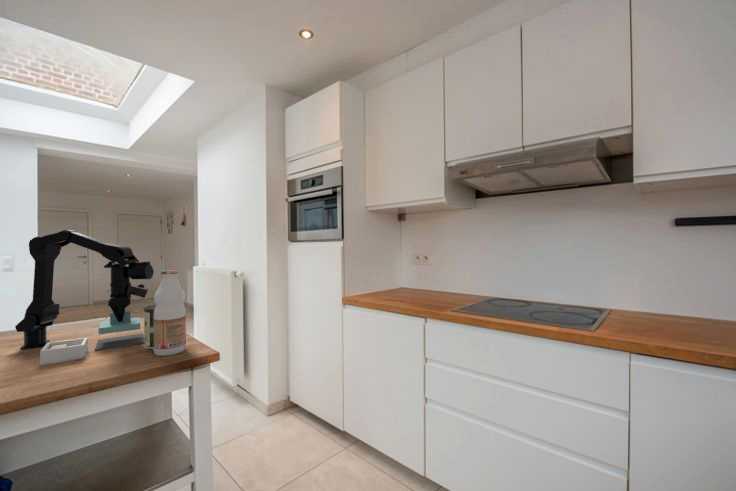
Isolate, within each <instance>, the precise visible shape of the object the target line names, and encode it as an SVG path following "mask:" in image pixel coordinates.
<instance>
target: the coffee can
mask: <svg viewBox="0 0 736 491" xmlns="http://www.w3.org/2000/svg"><path fill="white" fill-rule="evenodd" d="M155 307H156V304H154V305H148V306H146V307H143V311H144V313H143V316H144V318H143V320H144V324H143V325H144V326H143V327H144V328H143V329H144V331H143V334H144V345H143V346H144V349H147V350H154V319H153V316H154V309H155Z"/></svg>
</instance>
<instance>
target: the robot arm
mask: <svg viewBox="0 0 736 491" xmlns="http://www.w3.org/2000/svg"><path fill="white" fill-rule="evenodd" d="M70 244H74V245H77V246H79V247H81V248H82V247H83V248H85V249H88V250H91V251H94V252H96V253H99V254H100V255H101V256H102V257H103V258H105V259H106V260H108V263H106V264H105V265H104V266H103V268H105V269H110V283H109V287H110V295H109V297H110V298H108V301H107V302H108V304H107V307H109V308H110V309H111V312H113V313H114V315H115V316H116V318H117V320H118V322H122V320H123V316H124V312H125V311H126V308H127V307H129V306H130V305H131V299H132V296H137V297H140V298H142V299H143V298H144V299H145V298H146V296H147V294H148V291H149V289H148V288H147V287H145V285H144V284H141V283H139V284H138V285H132V282H131V280H151V279H152V278H153V276H154V272H155V270H154V267H153V266H152V265H151V261H150V260H149V261H140V260H139V259H138V258H137V257H136V256H135V254H134V253H133V249H132V248H131V247H129V246H126V245H122V244H120V245H119V244H115V243H110V242H109V243H108V242H105V241H103V240H99V239H98V238H94V237H92V236H89V235H87V234H84V233H80V232H78V231H77V230H72V229H64V230H61V231H59V232H55V233H50V234H47V235H43V236H35V237H33V238H32V239H30V240H29V242H28V249H29V250H28V251H29V254H30V255H31V258H32V259H33V260H34V272H33V290H32V291H33V292H32V301H31V302H30V304H29V305H28V306H27V308H26V310H25V312H24V313H25V314H24V318H22V320H21V321H19V322H18V323H17V324H16V325H15V326H14V327H15V330H16V332H17V333H20V332H21V333H23V344H22V346H20V350H24V349H30V348H37V347H44V346H45V345H46V344H47V343H49V342H51V341H50V340H48V339H47V338H48V337H47V327H50V326H53V324H54V322H55V320H56V319H57V318H58V315H60V314H61V313H60V310H59V309H60V303H55V302H54V301H53V286H54V270H55V261H56V259H57V258H58V257H59V255H60V254H61V251H62V248H64V247H66V246H68V245H70Z"/></svg>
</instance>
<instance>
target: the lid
mask: <svg viewBox="0 0 736 491" xmlns="http://www.w3.org/2000/svg"><path fill="white" fill-rule="evenodd" d="M131 314H132V312H131V310H130V309H129V310H125V312H124V316H123V320H122V322H118V320H117V318H116V316H115V315H114V313H113V311H111V312H110V313H109V320H104V321H101V322H100V324H99V326H98V335H106V334H115V333H122V332H128V331H137V330H141V318H140V317H132V316H131Z"/></svg>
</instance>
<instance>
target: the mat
mask: <svg viewBox="0 0 736 491" xmlns="http://www.w3.org/2000/svg"><path fill="white" fill-rule="evenodd" d="M143 344H144V332H143V333H135V334H128V335H122V336H114V337H108V338H102V339H101V338H99V339H98V340H97V342H96V345H95V347H94V352H99V351H106V350H112V349H118V348H125V347H131V346H137V345H143Z"/></svg>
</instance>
